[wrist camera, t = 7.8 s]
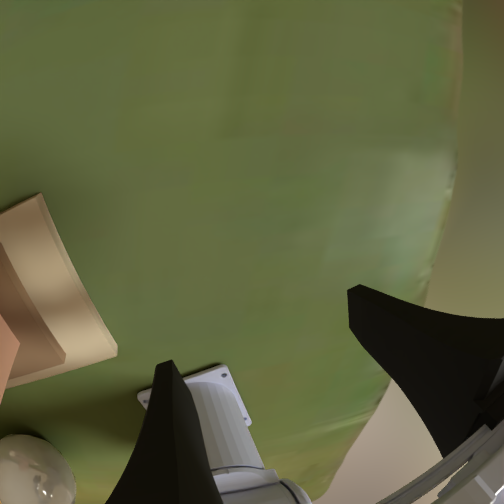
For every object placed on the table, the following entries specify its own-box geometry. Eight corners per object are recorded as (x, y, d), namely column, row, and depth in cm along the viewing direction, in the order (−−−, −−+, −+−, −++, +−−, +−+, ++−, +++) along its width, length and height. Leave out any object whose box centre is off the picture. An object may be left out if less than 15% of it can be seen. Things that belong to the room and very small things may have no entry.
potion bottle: (86, 443, 27) (-24, 416, 23) (58, 445, 19) (-70, 404, 15) (91, 518, 22) (-22, 486, 18) (67, 543, 14) (-66, 491, 10)
